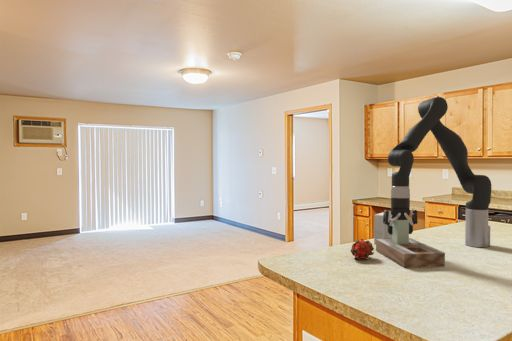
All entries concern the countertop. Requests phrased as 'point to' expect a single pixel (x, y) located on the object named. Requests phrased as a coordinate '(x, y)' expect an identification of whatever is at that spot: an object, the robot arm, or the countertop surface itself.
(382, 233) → the skincare box
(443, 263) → the block
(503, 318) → the countertop surface
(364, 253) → the dragon fruit
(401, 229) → the square peg
